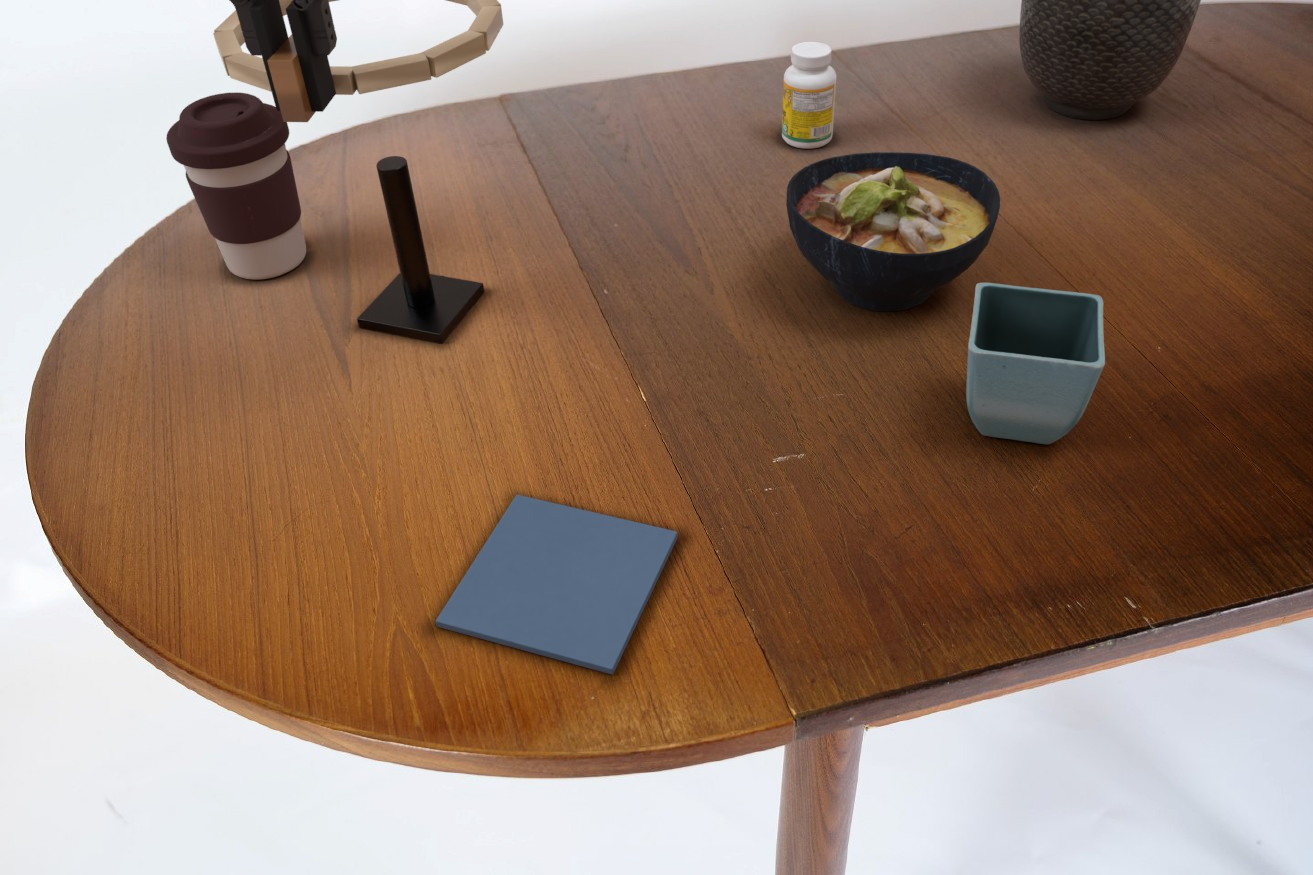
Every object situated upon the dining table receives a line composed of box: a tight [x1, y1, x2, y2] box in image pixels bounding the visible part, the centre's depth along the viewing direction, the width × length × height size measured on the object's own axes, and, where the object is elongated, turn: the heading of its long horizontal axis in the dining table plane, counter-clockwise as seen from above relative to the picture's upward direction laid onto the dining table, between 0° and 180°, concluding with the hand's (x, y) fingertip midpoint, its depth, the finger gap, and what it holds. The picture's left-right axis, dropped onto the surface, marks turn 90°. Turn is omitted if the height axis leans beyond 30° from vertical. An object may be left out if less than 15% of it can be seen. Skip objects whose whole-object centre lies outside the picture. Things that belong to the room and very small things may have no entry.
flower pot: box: [965, 282, 1106, 445], centre depth 81 cm, size 9×9×9 cm
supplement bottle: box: [781, 41, 837, 150], centre depth 116 cm, size 5×5×10 cm
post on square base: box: [356, 155, 485, 344], centre depth 93 cm, size 8×8×14 cm
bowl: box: [785, 151, 1001, 312], centre depth 95 cm, size 17×17×10 cm
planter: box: [1018, 0, 1202, 121], centre depth 118 cm, size 17×17×16 cm
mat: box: [435, 494, 679, 676], centre depth 74 cm, size 12×12×1 cm
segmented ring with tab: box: [212, 0, 504, 123], centre depth 79 cm, size 24×20×4 cm
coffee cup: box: [165, 92, 307, 280], centre depth 100 cm, size 10×10×15 cm
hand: (306, 101), depth 73 cm, fingers closed on segmented ring with tab, 2 cm apart
